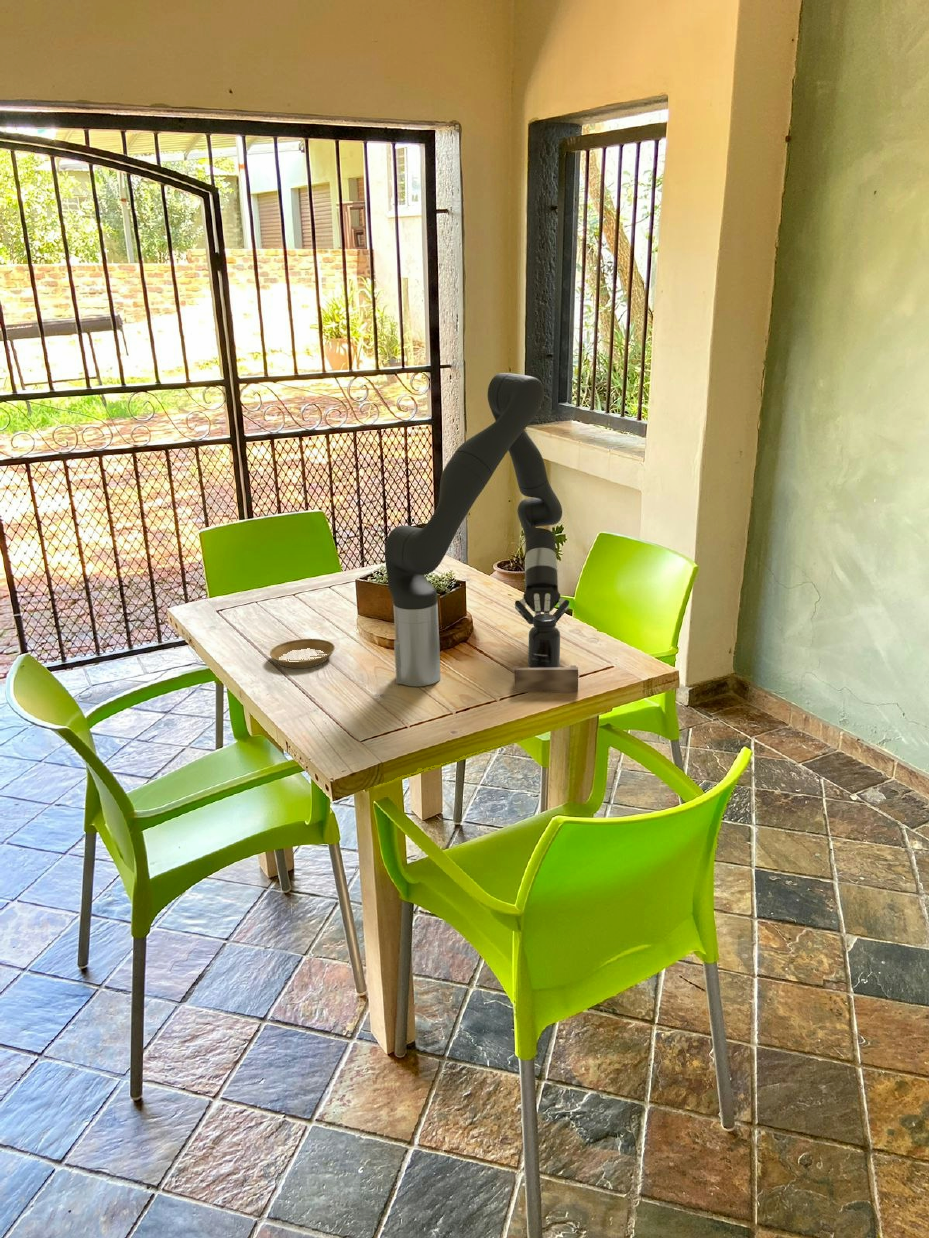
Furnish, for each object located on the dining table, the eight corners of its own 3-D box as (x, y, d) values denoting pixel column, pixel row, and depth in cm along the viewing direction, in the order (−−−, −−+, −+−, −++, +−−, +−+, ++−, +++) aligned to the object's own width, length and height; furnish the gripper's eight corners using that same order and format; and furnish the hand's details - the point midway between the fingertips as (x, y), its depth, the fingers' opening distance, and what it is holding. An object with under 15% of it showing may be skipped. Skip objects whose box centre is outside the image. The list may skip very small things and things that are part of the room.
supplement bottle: (534, 676, 192) (534, 623, 188) (524, 665, 198) (523, 614, 194) (564, 672, 194) (565, 620, 190) (553, 661, 200) (553, 610, 196)
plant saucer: (257, 666, 203) (256, 655, 202) (297, 645, 215) (296, 634, 214) (309, 676, 196) (308, 665, 195) (348, 654, 209) (347, 643, 208)
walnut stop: (514, 692, 184) (514, 670, 183) (514, 681, 190) (514, 659, 188) (578, 691, 184) (578, 669, 182) (576, 680, 189) (576, 658, 187)
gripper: (512, 564, 205) (513, 633, 197) (570, 563, 204) (573, 632, 197) (512, 579, 212) (513, 646, 204) (568, 579, 211) (571, 646, 203)
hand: (542, 639), depth 200 cm, fingers closed
